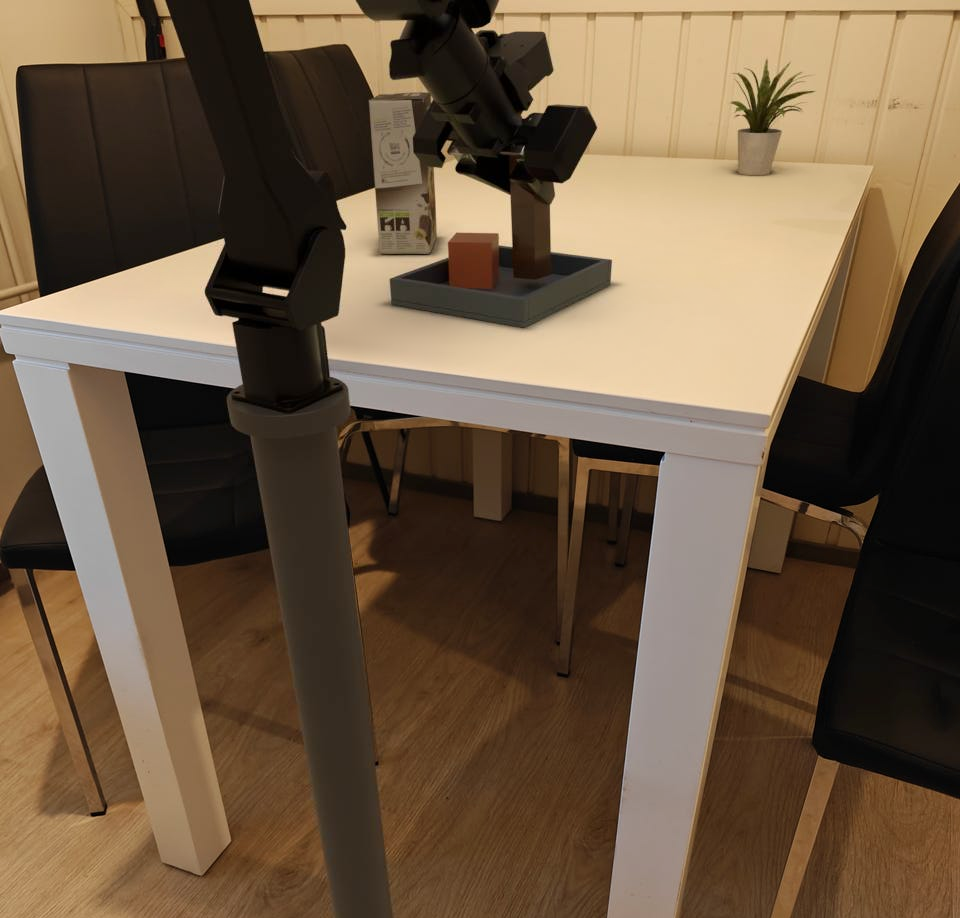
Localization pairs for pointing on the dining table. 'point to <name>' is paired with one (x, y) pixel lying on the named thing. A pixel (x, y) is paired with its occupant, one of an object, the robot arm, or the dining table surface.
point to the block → (474, 260)
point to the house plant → (762, 122)
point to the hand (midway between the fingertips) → (539, 198)
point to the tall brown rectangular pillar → (529, 232)
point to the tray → (503, 289)
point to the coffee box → (402, 175)
